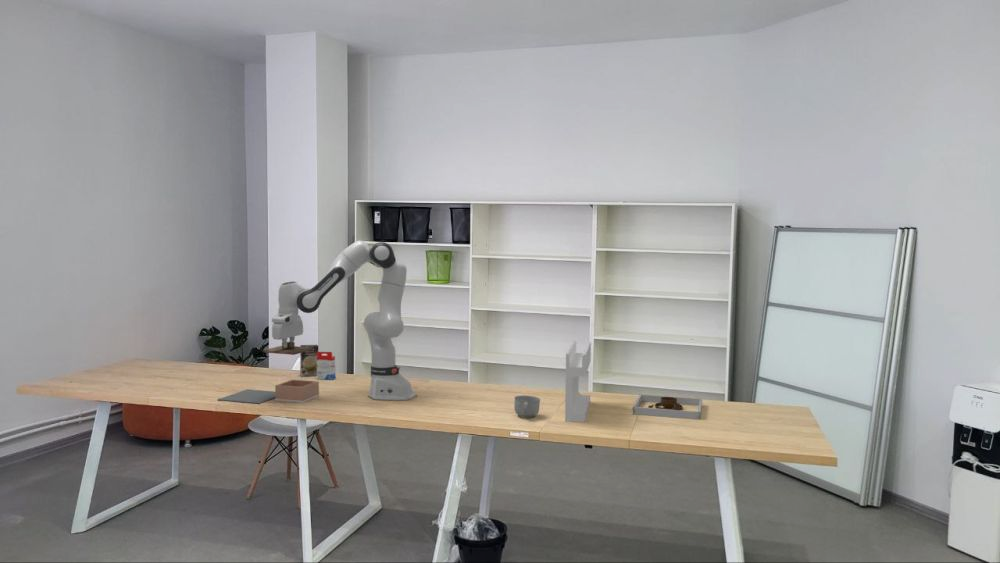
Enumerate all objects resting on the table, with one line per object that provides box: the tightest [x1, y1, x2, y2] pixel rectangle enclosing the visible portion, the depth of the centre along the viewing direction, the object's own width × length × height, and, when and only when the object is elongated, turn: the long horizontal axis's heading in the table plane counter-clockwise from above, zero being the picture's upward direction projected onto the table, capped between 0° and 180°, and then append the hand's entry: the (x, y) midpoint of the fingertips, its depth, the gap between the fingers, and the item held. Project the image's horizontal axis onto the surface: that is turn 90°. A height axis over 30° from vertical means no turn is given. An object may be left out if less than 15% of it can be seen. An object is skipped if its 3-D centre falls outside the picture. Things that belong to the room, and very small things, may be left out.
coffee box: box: [299, 344, 319, 378], centre depth 395 cm, size 9×6×16 cm
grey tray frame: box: [632, 393, 703, 420], centre depth 327 cm, size 28×26×3 cm
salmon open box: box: [274, 379, 320, 404], centre depth 343 cm, size 14×14×7 cm
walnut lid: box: [262, 341, 313, 356], centre depth 342 cm, size 16×16×4 cm
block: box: [564, 340, 592, 423], centre depth 321 cm, size 35×8×28 cm, turn 170°
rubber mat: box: [217, 388, 276, 405], centre depth 346 cm, size 22×22×1 cm
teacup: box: [513, 394, 541, 419], centre depth 312 cm, size 14×11×8 cm
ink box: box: [316, 351, 336, 381], centre depth 387 cm, size 8×5×15 cm, turn 84°
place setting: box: [647, 396, 684, 410], centre depth 326 cm, size 18×20×6 cm
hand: (288, 346), depth 342 cm, fingers closed on walnut lid, 2 cm apart
